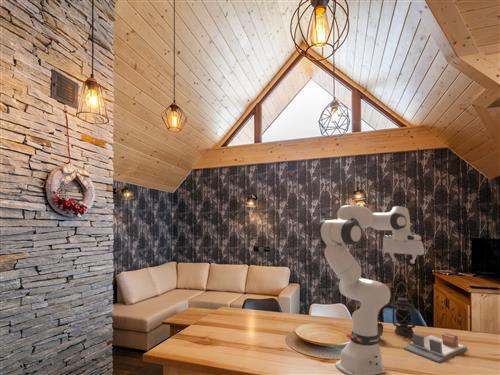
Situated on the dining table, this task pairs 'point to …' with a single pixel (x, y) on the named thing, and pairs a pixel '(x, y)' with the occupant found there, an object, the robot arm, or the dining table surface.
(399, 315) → the lantern
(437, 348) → the white strip
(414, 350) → the slate board
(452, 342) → the rust block
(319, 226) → the robot arm
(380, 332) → the dark ornate pot
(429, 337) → the grey strip
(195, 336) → the dining table surface
